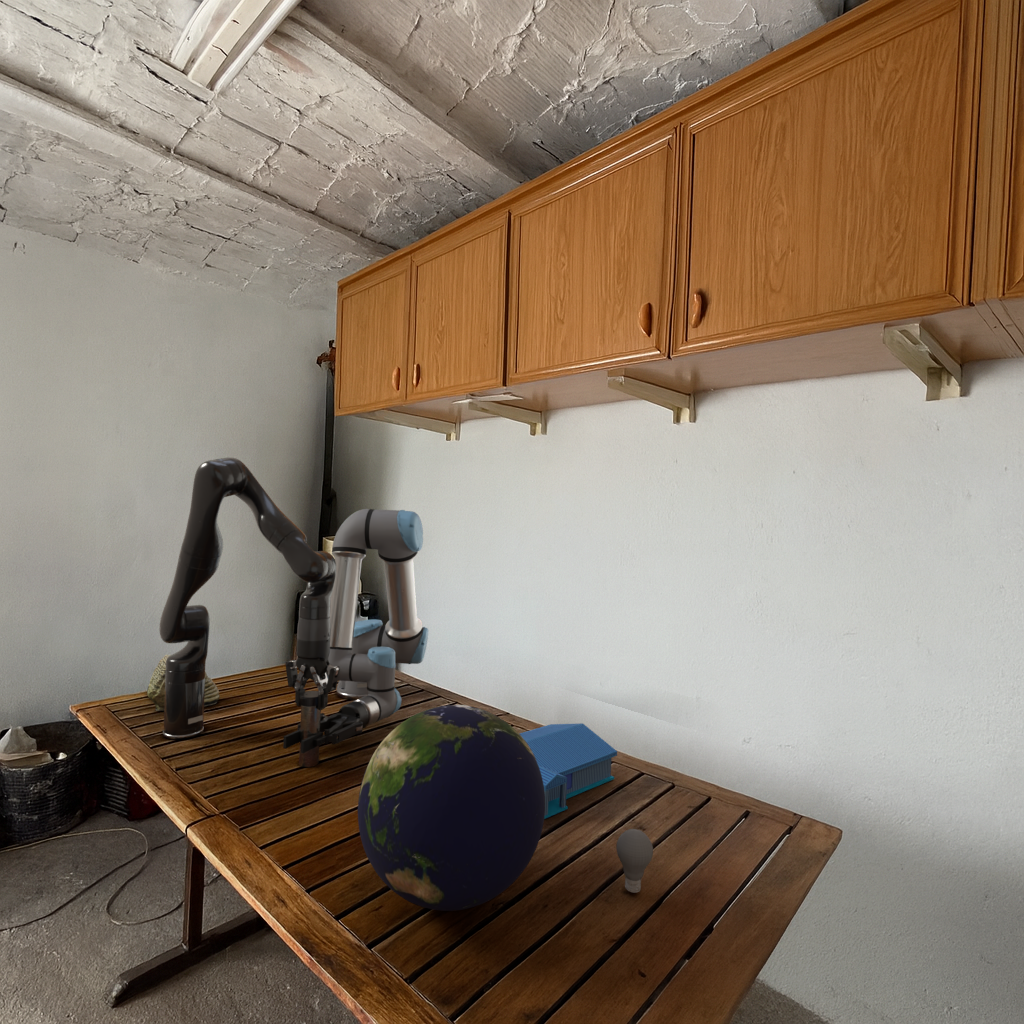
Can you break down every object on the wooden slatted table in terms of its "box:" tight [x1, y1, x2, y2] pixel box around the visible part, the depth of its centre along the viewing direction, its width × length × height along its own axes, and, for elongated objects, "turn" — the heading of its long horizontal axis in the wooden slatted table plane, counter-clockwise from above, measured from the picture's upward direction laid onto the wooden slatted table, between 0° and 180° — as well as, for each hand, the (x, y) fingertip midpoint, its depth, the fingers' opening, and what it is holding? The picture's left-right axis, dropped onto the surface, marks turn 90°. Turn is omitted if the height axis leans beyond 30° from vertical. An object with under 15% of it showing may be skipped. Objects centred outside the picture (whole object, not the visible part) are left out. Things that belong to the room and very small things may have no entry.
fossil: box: [146, 654, 221, 712], centre depth 185 cm, size 9×18×15 cm, turn 132°
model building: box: [519, 722, 618, 820], centre depth 142 cm, size 39×24×10 cm, turn 132°
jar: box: [298, 705, 322, 768], centre depth 150 cm, size 4×4×16 cm
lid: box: [299, 690, 320, 706], centre depth 150 cm, size 6×6×2 cm
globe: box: [357, 704, 545, 912], centre depth 102 cm, size 30×30×30 cm
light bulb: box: [615, 828, 654, 894], centre depth 106 cm, size 6×6×10 cm
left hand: (311, 706), depth 150 cm, fingers closed on lid, 5 cm apart
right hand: (293, 744), depth 145 cm, fingers closed on jar, 4 cm apart
